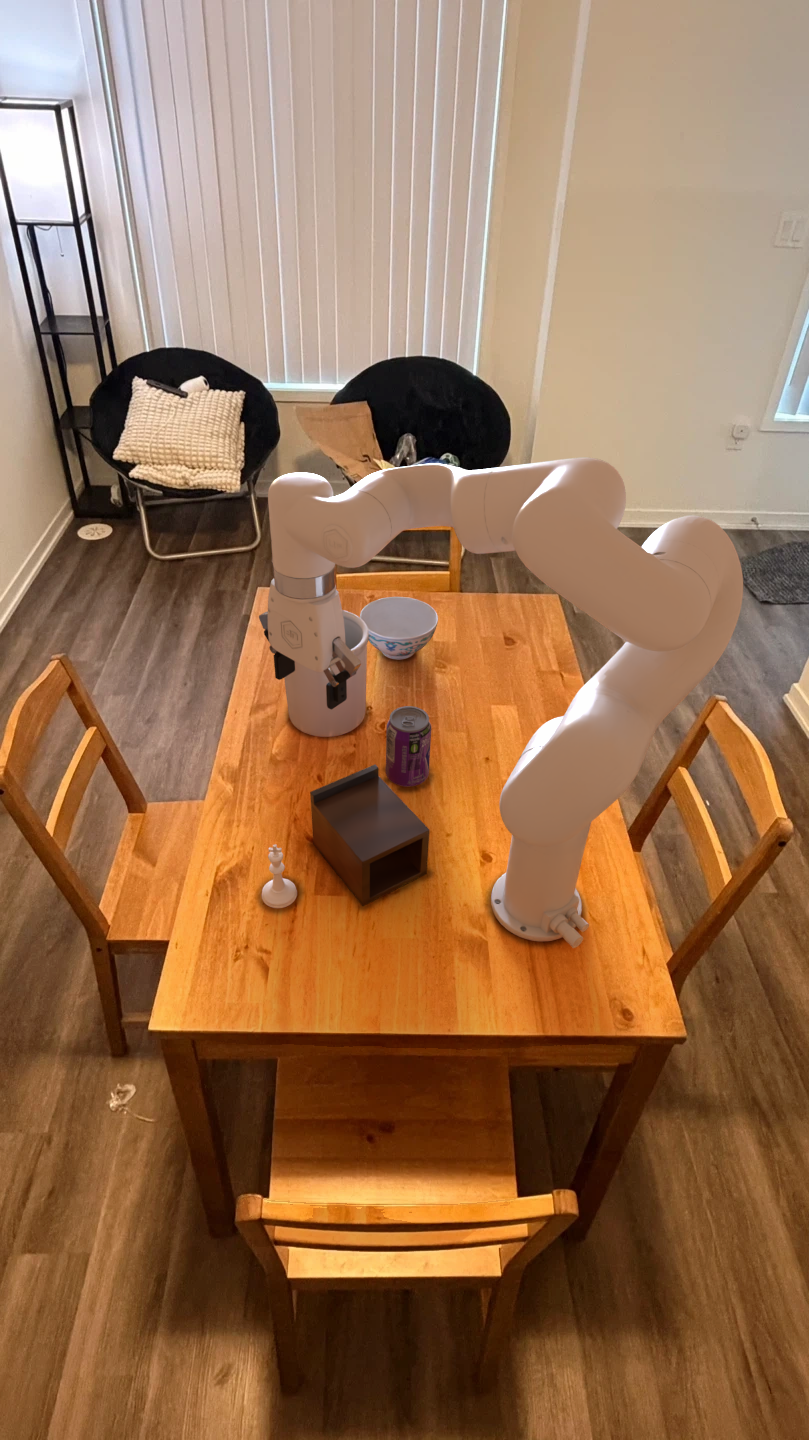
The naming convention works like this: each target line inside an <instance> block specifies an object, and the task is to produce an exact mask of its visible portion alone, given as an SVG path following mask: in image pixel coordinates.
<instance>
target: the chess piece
mask: <svg viewBox="0 0 809 1440" xmlns="http://www.w3.org/2000/svg"><path fill="white" fill-rule="evenodd" d="M267 858H268V860H269V862H270V864H269V867H268V870H269V872H270V873H271V874H272V875H273V876H272V879H271V880H269V881H267V882H266V883H265V884H264V886H263V887H262V890H261V899H262V902H263V903H264V904H265V905H266V906H268V907H270V908H272V909H283V908H286V907H289V906H291V905H292V904H293V903H294V902H295V901H296V899H297V896H298V890H297V886H296V885H295V883H294V882H293V881H291V880H290V879H288V878H283V872H284V871H285V869H286V866H285V864H284V863H283V860H284V853H283V852H282V847H278V845H277V844H276V843H275V844H272V847H271V846H270V847H268V856H267Z"/></svg>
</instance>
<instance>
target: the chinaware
mask: <svg viewBox="0 0 809 1440" xmlns="http://www.w3.org/2000/svg"><path fill="white" fill-rule="evenodd" d="M359 617H360V618H361V619H362V620H363V621H364V622H365V623H366V625H367V627H368V631H369V639H368V643H370V645H372V646H373V647H374V648H375V649H376V650H377V651H378V652H381V654H382V655H383V656H384V657H386V658H387V659H391V660H407V659H409V658H411V657H413V655H414V654H415V653H417V652H419V651H421V650H422V649H423V648H424V647H426V645H427V644H428V643H429V642H430V641H431V639H432V637H433V636H434V634H435V632H436V629H437V626H438V623H439V615H438V613H437V611H436V610H435V608H433V607H432V606H431V605H430V604H428V603H427V602H425V601H423V600H421V599H417V598H413V597H406V596H388V597H382V598H378V599H375V600H373V601H371V602H368V604H367V605H365V606H364V607H363V608H362V610H361V611H360V613H359Z"/></svg>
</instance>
